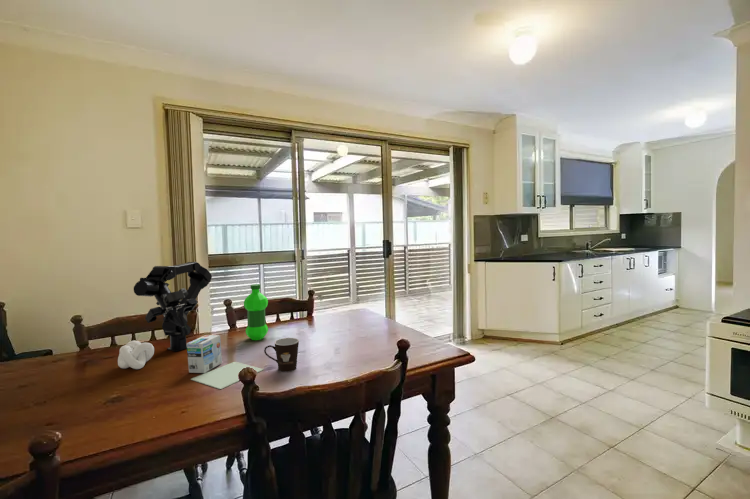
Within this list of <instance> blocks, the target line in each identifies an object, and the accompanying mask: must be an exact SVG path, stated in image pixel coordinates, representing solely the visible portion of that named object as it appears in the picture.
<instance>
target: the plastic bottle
mask: <svg viewBox="0 0 750 499" xmlns="http://www.w3.org/2000/svg"><path fill="white" fill-rule="evenodd" d="M260 289H261V284H260V283H259V284H257V283H255V284H250V290H251V293H250V294H248V296H246V297H245V299H244V300H243V306H244V309H245V310H246V313H247V319H246V321H247V326H246V328H245V334H246V336H247V337H248V338H249V339H251V341H261V340H263V339H264V338H265V336H266V335H267V334H268V332H269V327H268V325H267V322H266V319H267V318H266V308H267V307H268V304H269V300H268V298H267V297H266V296H265V295H264V294H263V293H261V292H260Z"/></svg>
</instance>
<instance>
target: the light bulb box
mask: <svg viewBox="0 0 750 499" xmlns="http://www.w3.org/2000/svg"><path fill="white" fill-rule="evenodd" d="M221 340H222V339H221V335H219V334H216V335H215V334H211V335H210V334H205V335H202V336H200V337H198V338H196V339H194V340H192V341H189V342H186V345H187V348H186V351H187V365H188V373H191V374H192V373H193V374H204V373H207V372H209V371H212V370H214V368H216V367H218V366H220V365H222V364H223V358H222V357H223V356H222V355H223V354H222V341H221Z"/></svg>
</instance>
